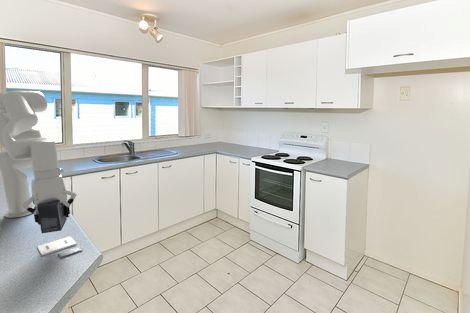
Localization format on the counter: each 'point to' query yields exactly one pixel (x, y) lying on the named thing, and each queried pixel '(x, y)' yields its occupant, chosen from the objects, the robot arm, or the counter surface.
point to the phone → (69, 252)
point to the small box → (51, 216)
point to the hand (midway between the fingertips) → (53, 219)
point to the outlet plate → (56, 245)
